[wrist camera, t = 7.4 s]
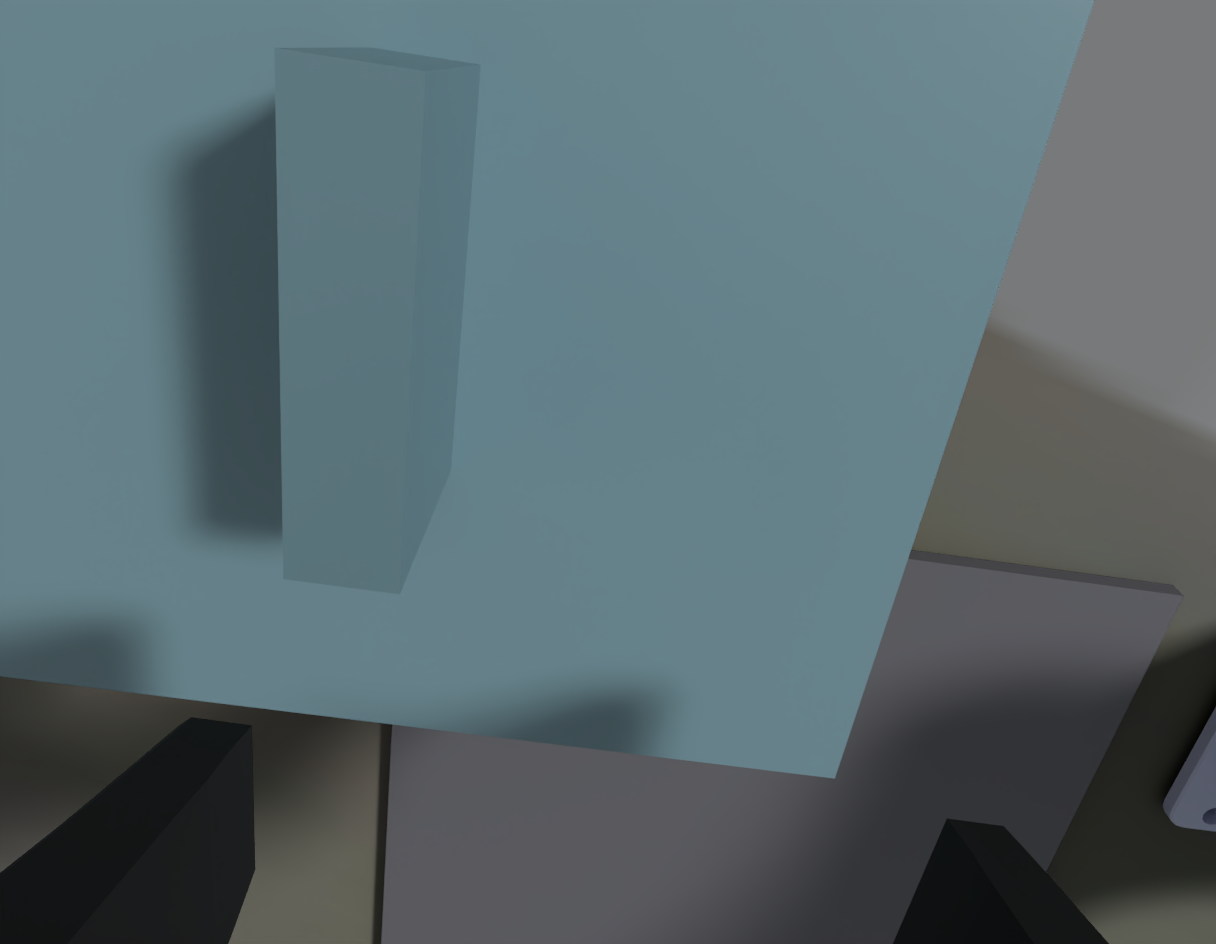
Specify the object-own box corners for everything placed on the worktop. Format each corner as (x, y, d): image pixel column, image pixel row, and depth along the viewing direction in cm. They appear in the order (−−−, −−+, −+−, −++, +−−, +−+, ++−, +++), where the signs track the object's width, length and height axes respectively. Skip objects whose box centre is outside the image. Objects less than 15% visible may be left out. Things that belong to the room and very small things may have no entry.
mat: (1172, 585, 19) (1183, 595, 18) (942, 1055, 26) (947, 1070, 25) (408, 481, 18) (404, 491, 18) (381, 994, 25) (377, 1008, 24)
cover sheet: (1167, -329, 9) (1504, -562, 6) (825, 743, 15) (883, 950, 11) (-283, -591, 8) (-922, -1039, 5) (-34, 636, 14) (-243, 823, 11)
